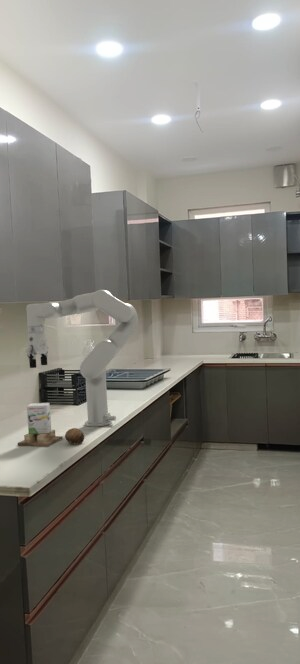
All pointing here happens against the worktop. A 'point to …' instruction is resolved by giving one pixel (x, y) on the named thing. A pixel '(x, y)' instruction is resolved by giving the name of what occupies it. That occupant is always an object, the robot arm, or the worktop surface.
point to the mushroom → (74, 436)
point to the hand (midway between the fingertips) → (38, 366)
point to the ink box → (39, 418)
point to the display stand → (40, 439)
